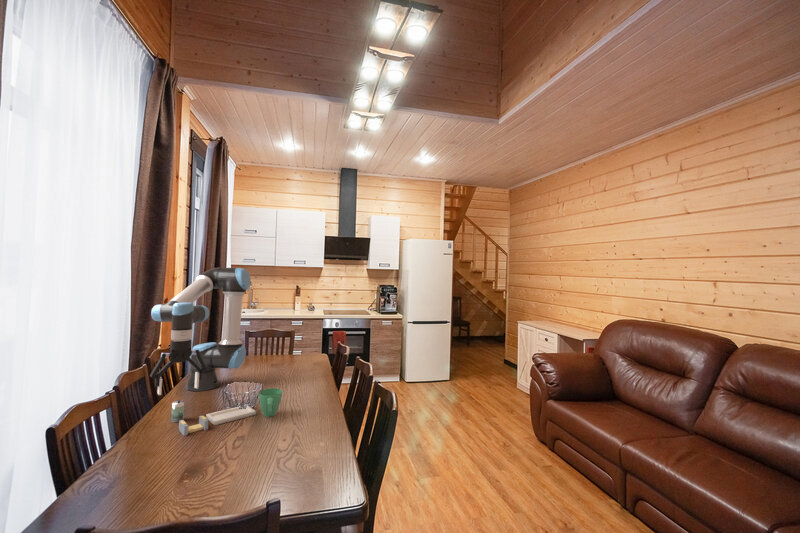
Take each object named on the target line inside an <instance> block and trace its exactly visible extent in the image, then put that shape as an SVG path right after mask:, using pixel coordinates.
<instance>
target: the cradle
mask: <svg viewBox="0 0 800 533" xmlns="http://www.w3.org/2000/svg"><path fill="white" fill-rule="evenodd" d="M198 417H199V418H198V423H197V424H193V425H188V424H187V422H186V421H185V420H180V421H179V422H178V431H179V432H180V433H181V434H182V436H184V437H186V436H188V434H191V433H194V432H199V431H202V430H204V431H208V430H209V420H208V419H207V418H206V416H204V415H199V416H198Z"/></svg>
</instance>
